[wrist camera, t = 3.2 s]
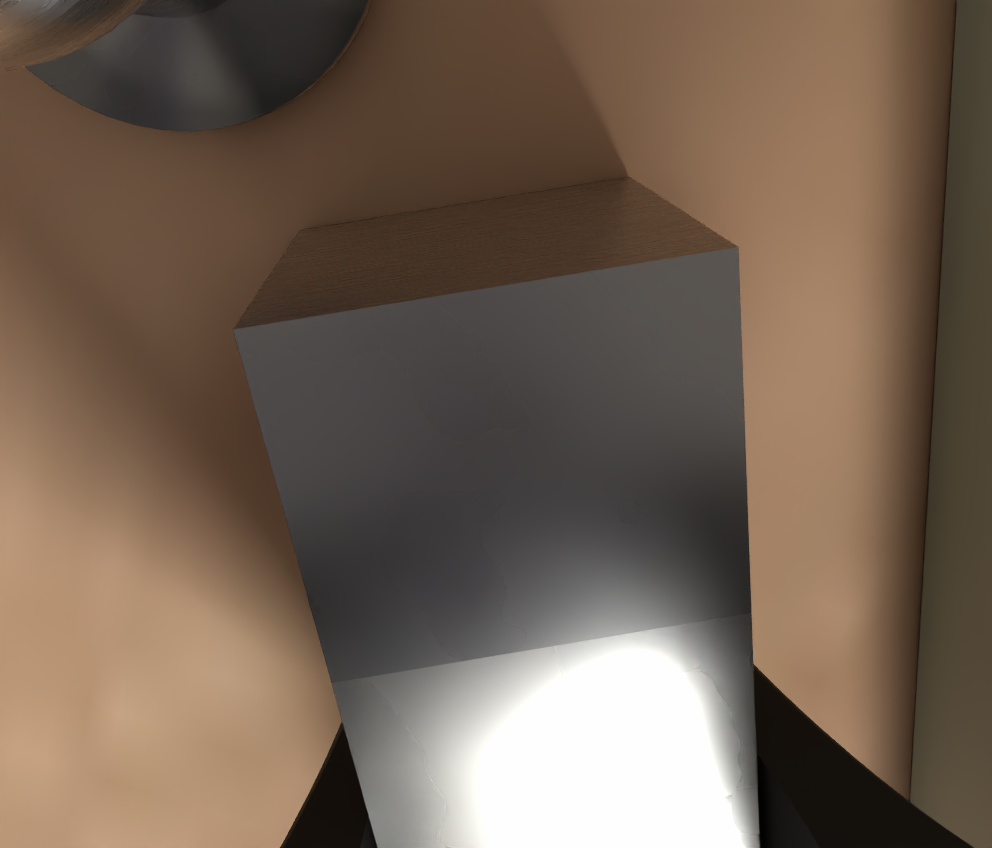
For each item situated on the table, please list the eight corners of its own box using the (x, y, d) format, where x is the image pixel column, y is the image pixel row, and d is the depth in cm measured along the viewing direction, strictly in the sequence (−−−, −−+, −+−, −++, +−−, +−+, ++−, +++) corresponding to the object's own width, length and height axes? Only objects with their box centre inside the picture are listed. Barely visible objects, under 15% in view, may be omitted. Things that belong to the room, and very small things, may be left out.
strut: (474, 971, 16) (489, 1248, 12) (299, 230, 11) (232, 330, 7) (693, 934, 16) (771, 1199, 12) (629, 177, 11) (737, 247, 7)
